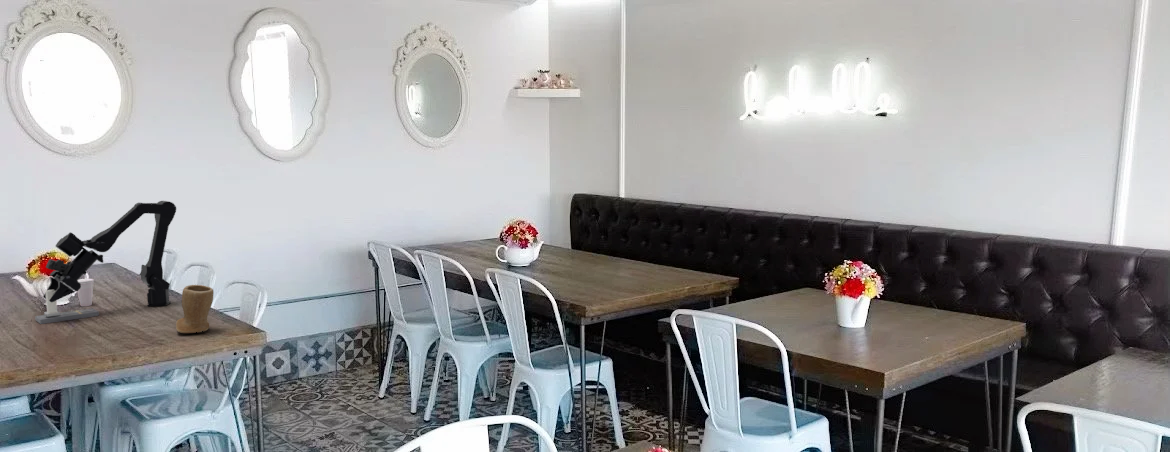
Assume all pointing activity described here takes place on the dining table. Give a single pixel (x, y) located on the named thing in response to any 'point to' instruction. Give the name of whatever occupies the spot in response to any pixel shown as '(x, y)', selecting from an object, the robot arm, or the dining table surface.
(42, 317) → the fader board
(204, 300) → the tan boot
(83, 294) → the smoothie
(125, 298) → the dining table surface
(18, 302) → the dining table surface
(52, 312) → the fader
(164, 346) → the dining table surface
